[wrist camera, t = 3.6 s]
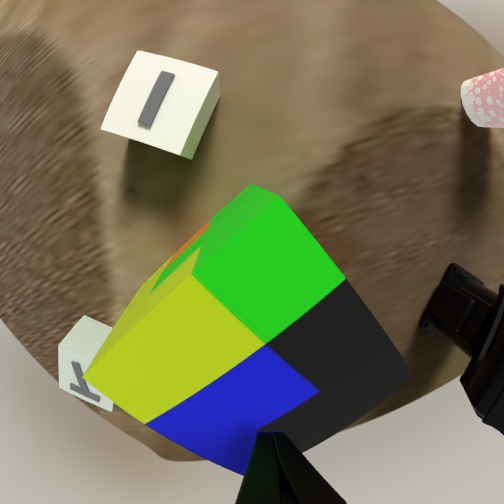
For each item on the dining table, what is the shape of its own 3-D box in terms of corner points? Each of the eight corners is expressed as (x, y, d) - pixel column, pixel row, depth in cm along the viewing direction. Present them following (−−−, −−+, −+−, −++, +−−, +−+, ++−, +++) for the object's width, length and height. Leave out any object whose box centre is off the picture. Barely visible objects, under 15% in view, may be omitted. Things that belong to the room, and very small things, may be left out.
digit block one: (220, 95, 16) (218, 70, 11) (191, 159, 17) (179, 155, 12) (157, 76, 15) (136, 49, 10) (129, 138, 16) (98, 128, 11)
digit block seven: (135, 336, 20) (117, 374, 15) (126, 375, 21) (111, 413, 16) (84, 314, 19) (57, 346, 14) (80, 355, 20) (58, 389, 15)
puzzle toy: (239, 370, 21) (248, 477, 11) (142, 285, 18) (82, 377, 9) (341, 291, 20) (414, 375, 10) (251, 183, 17) (279, 196, 8)
